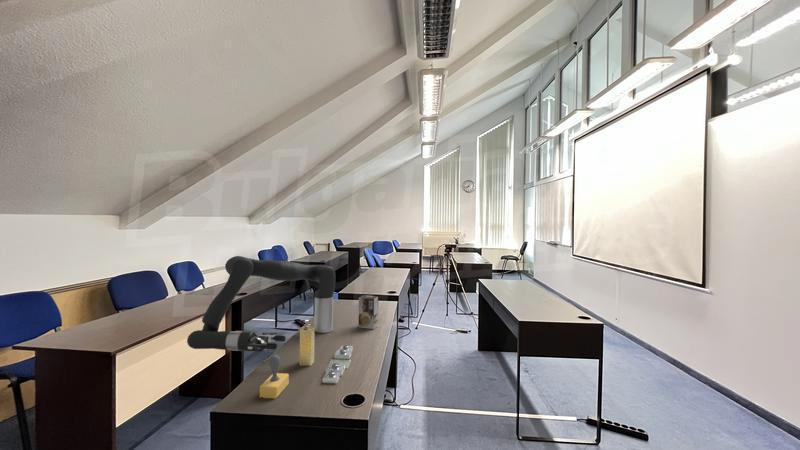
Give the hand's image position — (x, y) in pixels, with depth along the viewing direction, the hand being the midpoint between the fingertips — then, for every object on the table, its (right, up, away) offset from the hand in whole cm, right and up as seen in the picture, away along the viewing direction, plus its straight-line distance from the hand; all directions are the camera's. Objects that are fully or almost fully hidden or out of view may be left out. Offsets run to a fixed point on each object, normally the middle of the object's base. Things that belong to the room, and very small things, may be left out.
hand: (281, 342), depth 138 cm
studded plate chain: (+23, -8, -1) cm, 25 cm away
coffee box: (+30, -8, +47) cm, 56 cm away
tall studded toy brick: (+10, -8, 0) cm, 13 cm away
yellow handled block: (+6, -9, -22) cm, 24 cm away
